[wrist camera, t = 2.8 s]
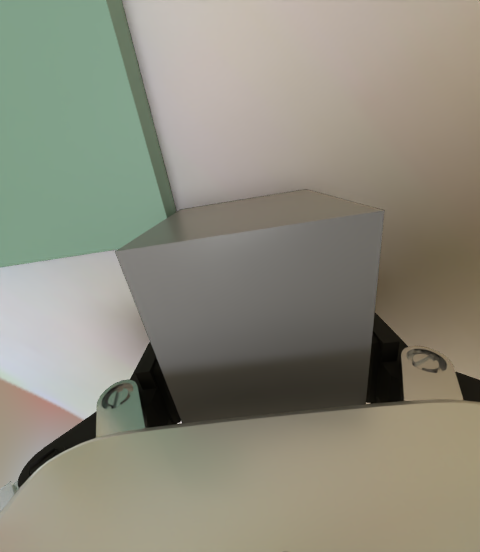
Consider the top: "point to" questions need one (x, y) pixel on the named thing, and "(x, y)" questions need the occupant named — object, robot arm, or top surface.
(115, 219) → the board
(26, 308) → the top surface
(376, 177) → the top surface
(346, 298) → the block
